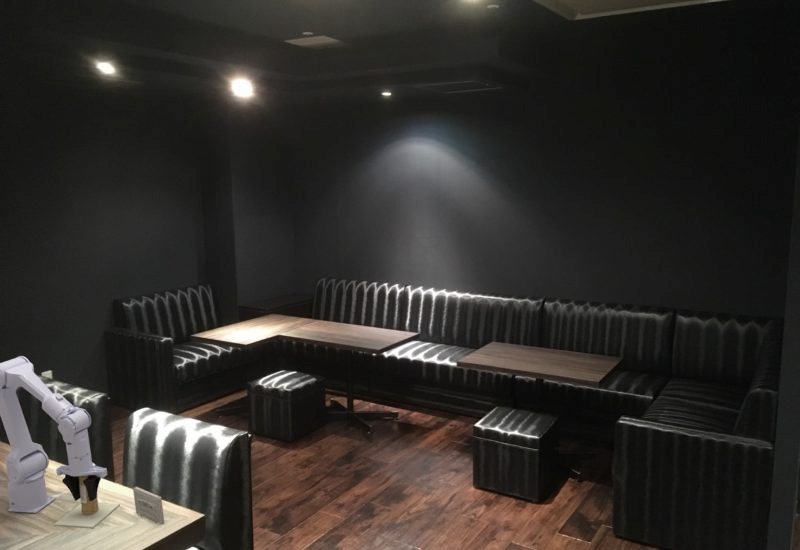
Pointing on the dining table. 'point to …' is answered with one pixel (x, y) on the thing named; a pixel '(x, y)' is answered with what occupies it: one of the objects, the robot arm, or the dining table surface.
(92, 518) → the sage mat
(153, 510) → the cassette
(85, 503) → the sprinkles bottle
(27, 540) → the dining table surface
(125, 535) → the dining table surface
